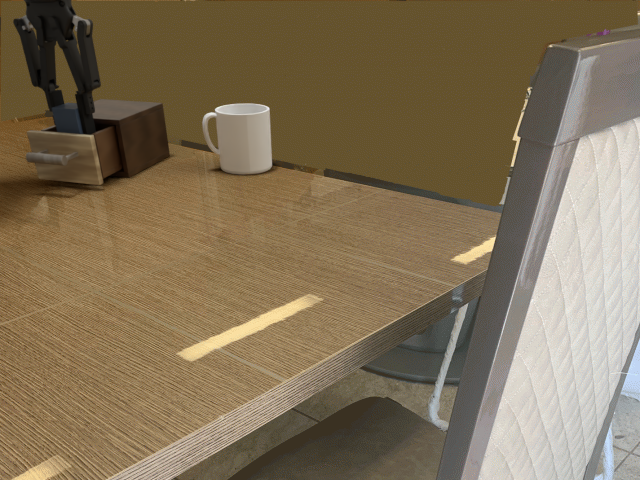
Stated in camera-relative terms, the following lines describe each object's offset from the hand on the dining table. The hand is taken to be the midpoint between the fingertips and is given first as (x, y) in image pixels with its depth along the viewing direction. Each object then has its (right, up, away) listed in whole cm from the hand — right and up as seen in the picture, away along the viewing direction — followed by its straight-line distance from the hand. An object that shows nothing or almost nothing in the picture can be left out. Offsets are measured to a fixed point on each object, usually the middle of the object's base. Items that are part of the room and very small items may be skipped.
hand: (76, 132), depth 113 cm
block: (0, 0, 0) cm, 0 cm away
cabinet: (+3, 0, +13) cm, 14 cm away
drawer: (0, -6, +4) cm, 7 cm away
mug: (+27, -2, +11) cm, 30 cm away
